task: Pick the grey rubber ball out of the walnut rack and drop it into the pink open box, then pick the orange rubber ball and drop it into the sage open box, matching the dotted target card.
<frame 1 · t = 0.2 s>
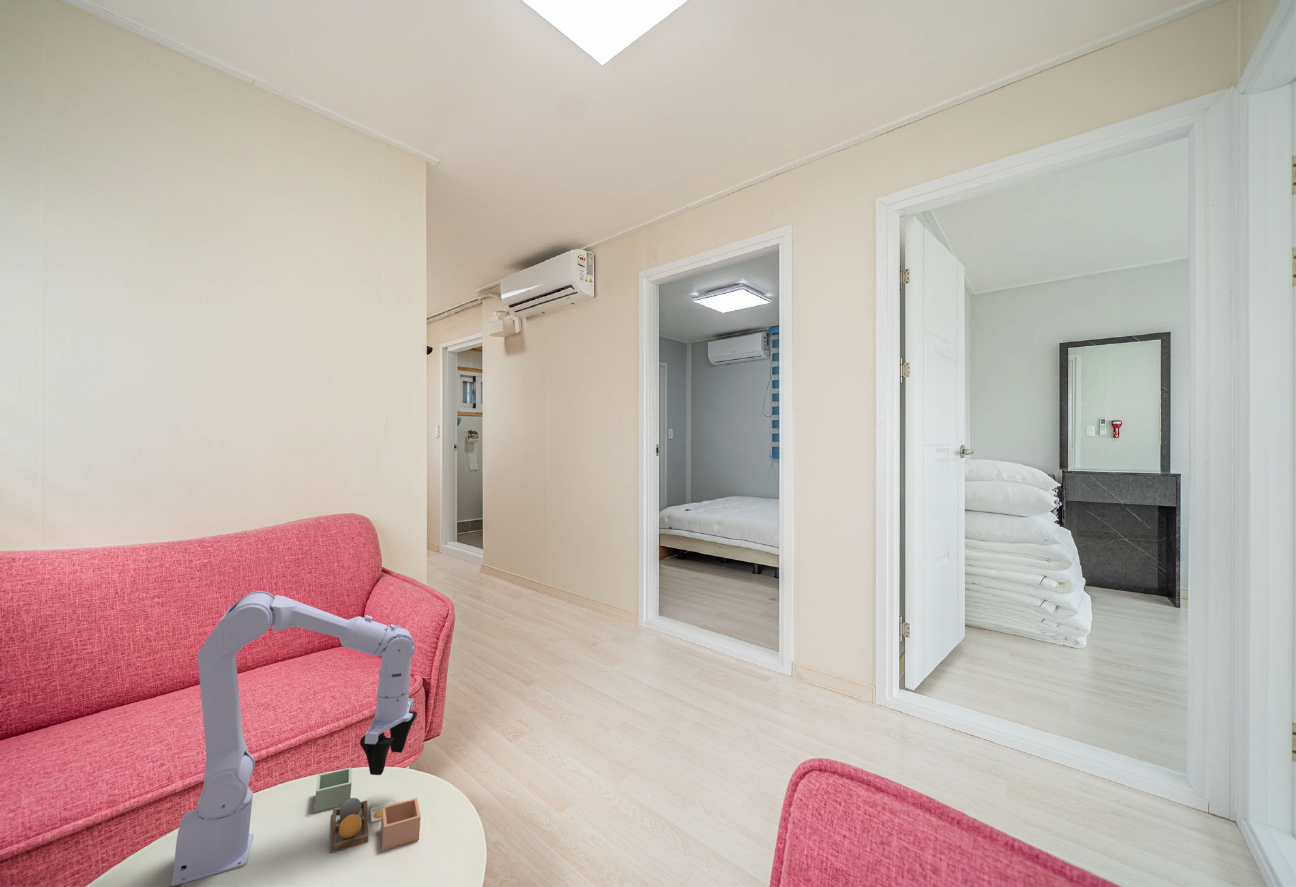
hand: (387, 762, 98), 10 cm above the table, fingers open, 7 cm apart
target card: (387, 812, 98), on the table
pink open box: (399, 834, 92), on the table
sage open box: (332, 799, 101), on the table
rack: (349, 827, 93), on the table
grey ball: (350, 809, 96), point 2 cm above the table
orange ball: (350, 826, 91), point 2 cm above the table
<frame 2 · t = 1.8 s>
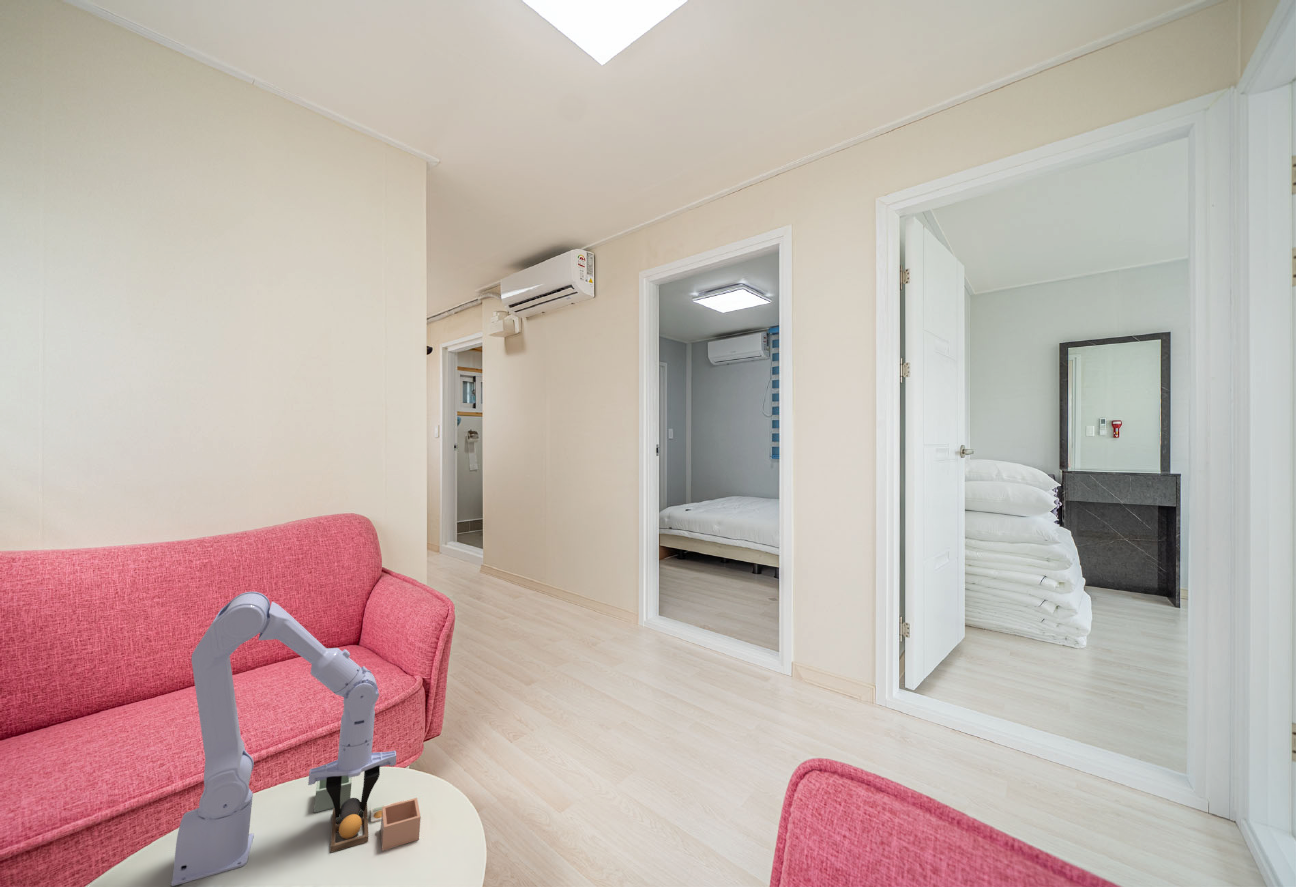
hand: (350, 811, 96), 1 cm above the table, fingers closed on grey ball, 4 cm apart
grey ball: (350, 809, 96), point 2 cm above the table, touching gripper
everything else where it was.
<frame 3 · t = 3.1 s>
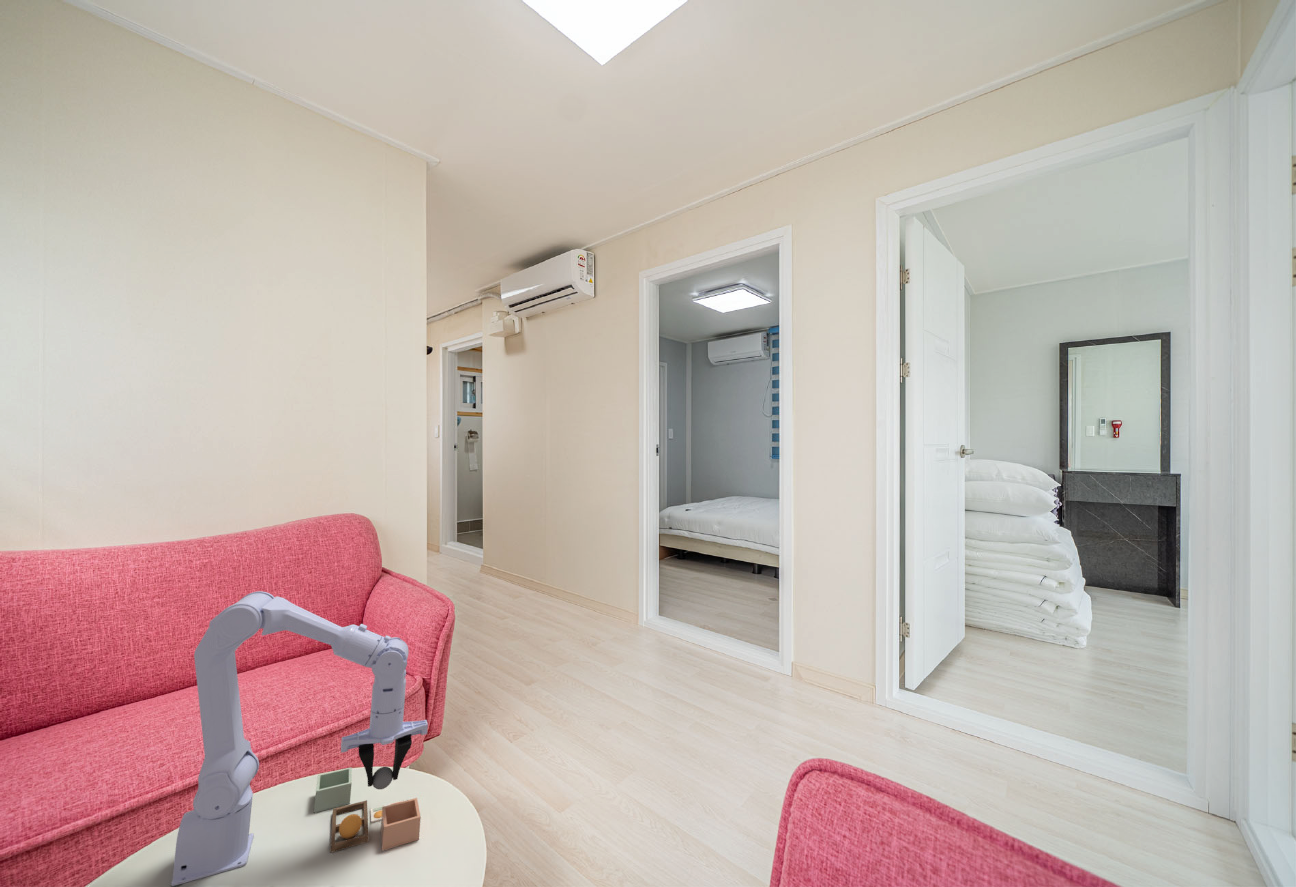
hand: (382, 780, 94), 9 cm above the table, fingers closed on grey ball, 4 cm apart
grey ball: (382, 778, 94), point 9 cm above the table, touching gripper
everything else where it was.
when the fingers open (6 cm above the table, at t = 4.1 s): grey ball drops 5 cm, point 2 cm above the table.
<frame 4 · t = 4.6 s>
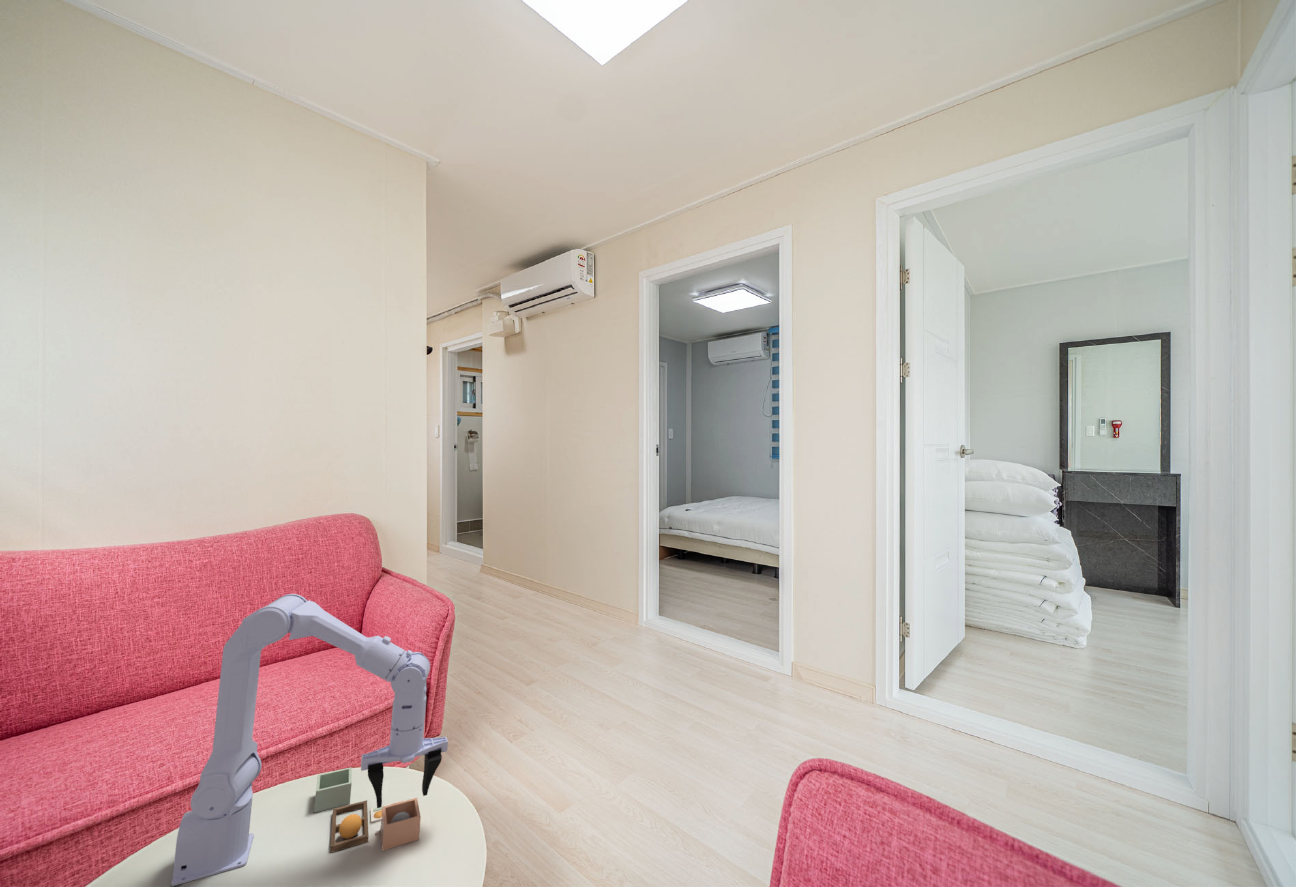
hand: (402, 798, 93), 6 cm above the table, fingers open, 7 cm apart
grey ball: (400, 824, 92), point 2 cm above the table
everything else where it was.
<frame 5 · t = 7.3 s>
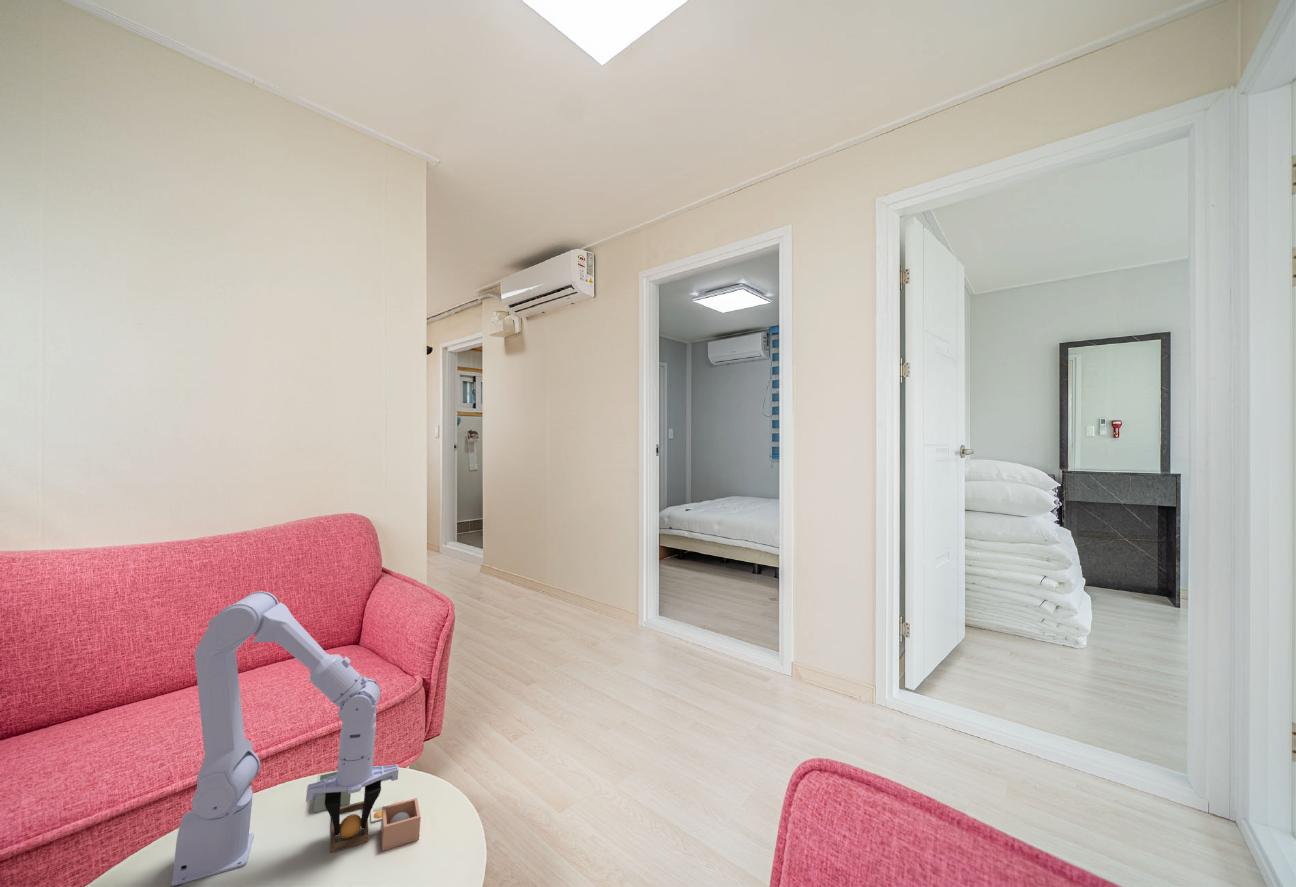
hand: (350, 828, 91), 1 cm above the table, fingers closed on orange ball, 4 cm apart
orange ball: (350, 826, 91), point 2 cm above the table, touching gripper
everything else where it was.
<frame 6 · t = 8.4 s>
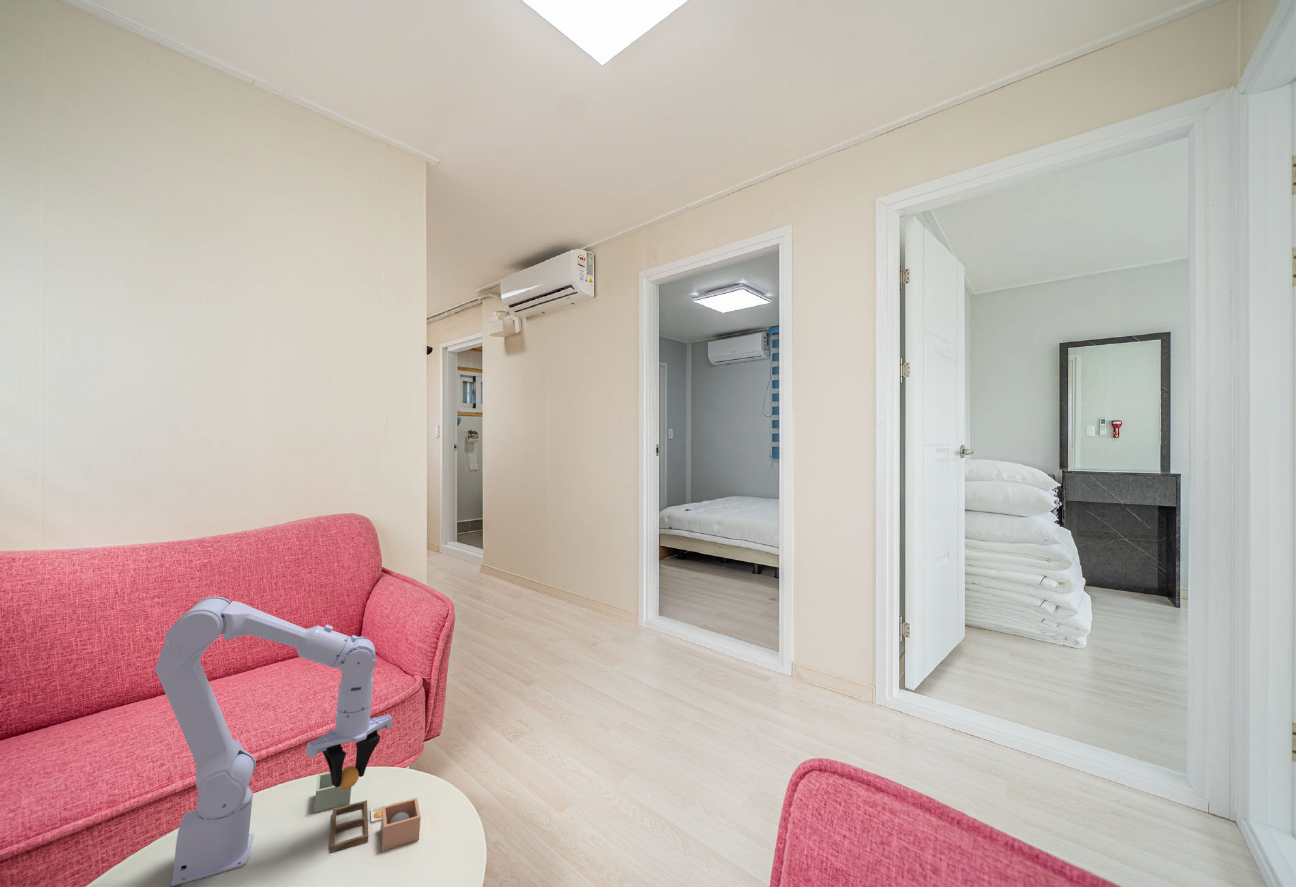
hand: (347, 779, 94), 8 cm above the table, fingers closed on orange ball, 4 cm apart
orange ball: (348, 777, 94), point 9 cm above the table, touching gripper
everything else where it was.
when the fingers open (6 cm above the table, at t = 9.6 s): orange ball drops 5 cm, point 2 cm above the table.
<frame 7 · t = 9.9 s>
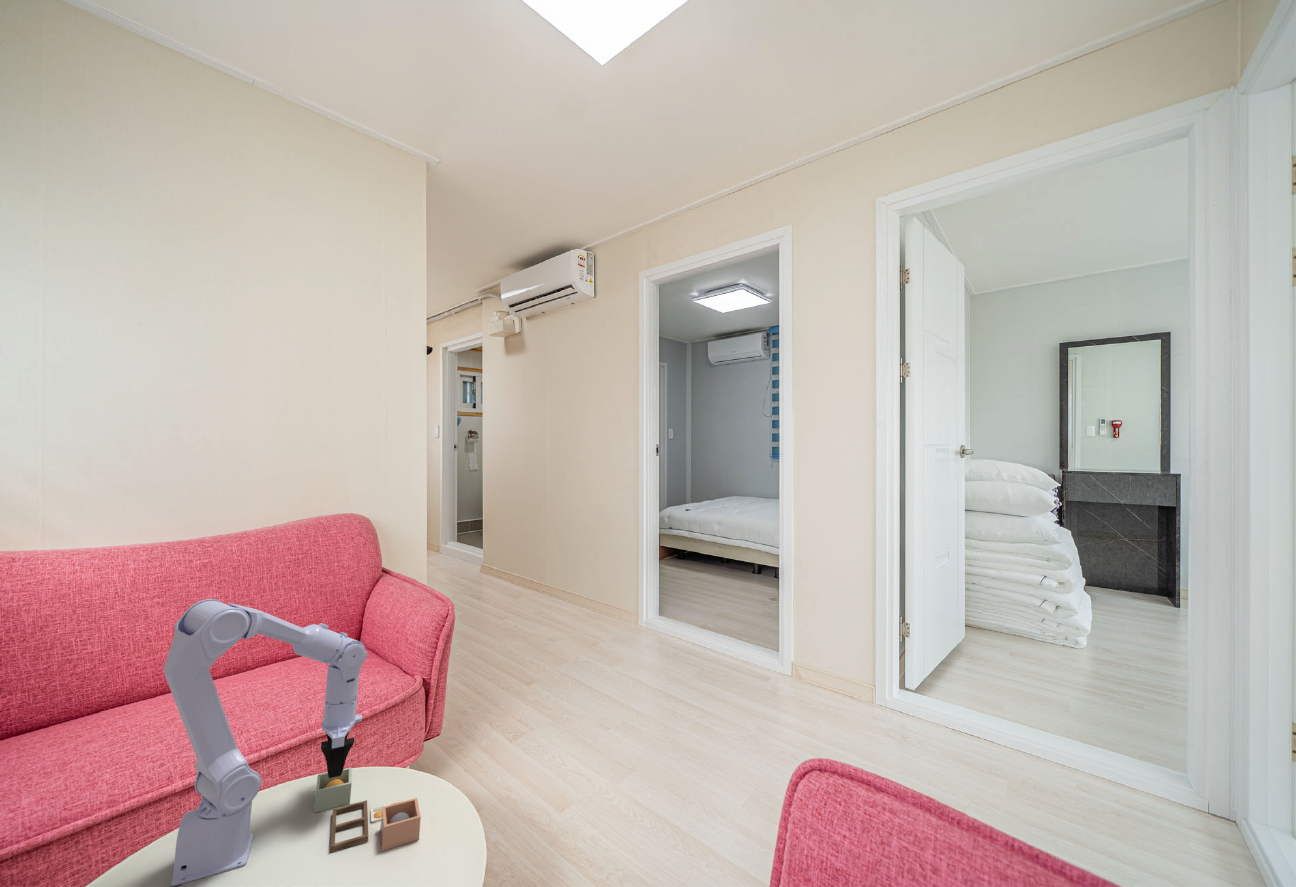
hand: (335, 766, 101), 6 cm above the table, fingers open, 6 cm apart
orange ball: (334, 790, 101), point 2 cm above the table
everything else where it was.
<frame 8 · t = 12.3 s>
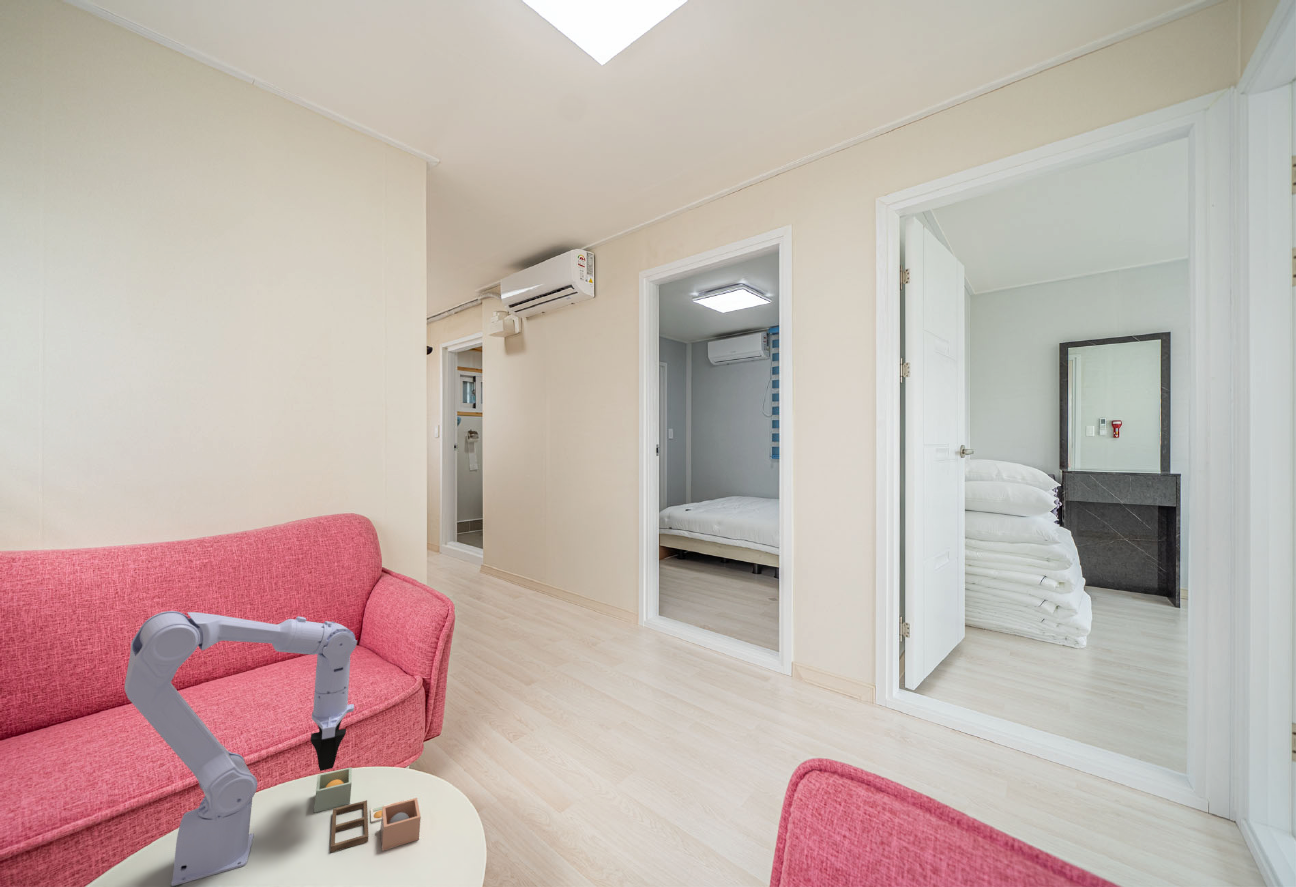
hand: (327, 758, 97), 10 cm above the table, fingers open, 7 cm apart
nothing on the table moved.
at the end: grey ball 0.2 cm off-centre on the pink open box, point 1.8 cm above the pink open box's base; orange ball 0.1 cm off-centre on the sage open box, point 1.8 cm above the sage open box's base; the gripper is holding nothing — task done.
